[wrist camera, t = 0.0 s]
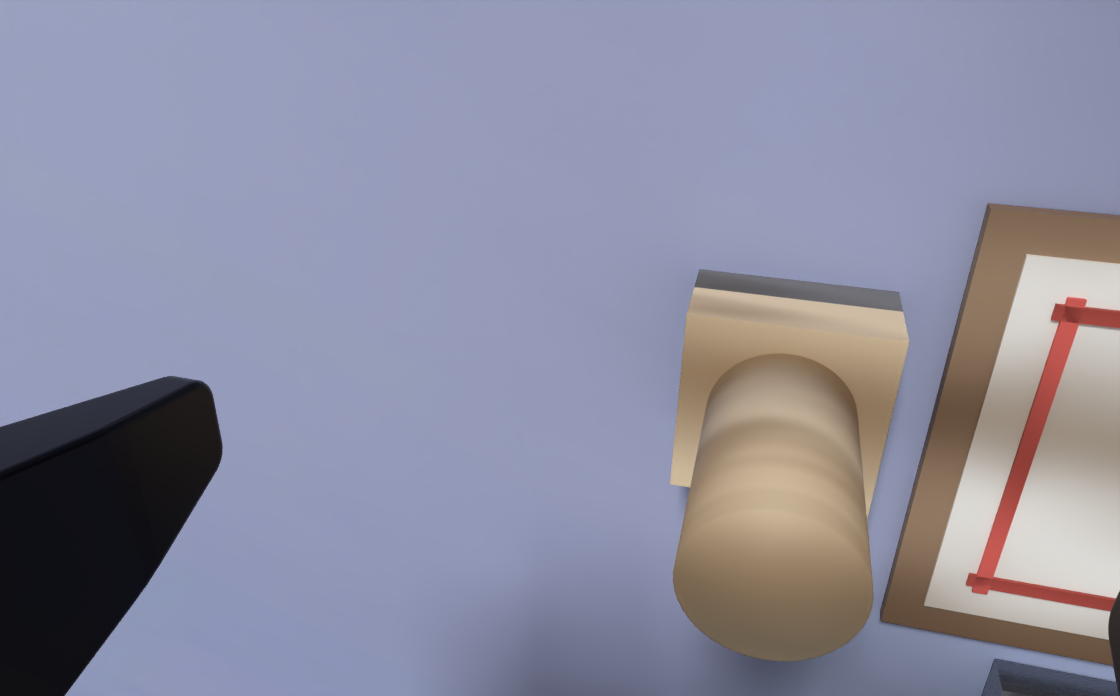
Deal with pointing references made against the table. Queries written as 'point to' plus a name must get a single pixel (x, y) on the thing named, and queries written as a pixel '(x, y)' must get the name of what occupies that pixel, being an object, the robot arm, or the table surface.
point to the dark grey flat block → (1042, 682)
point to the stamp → (782, 458)
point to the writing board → (1023, 446)
